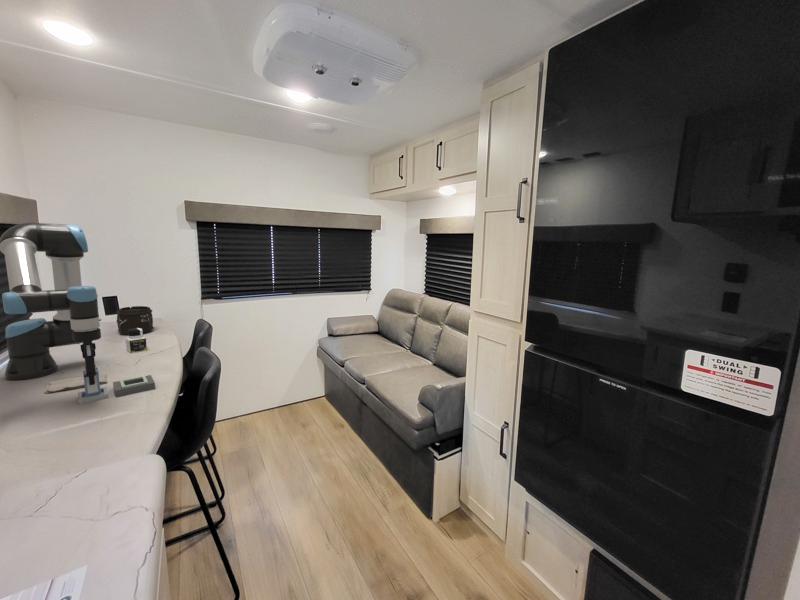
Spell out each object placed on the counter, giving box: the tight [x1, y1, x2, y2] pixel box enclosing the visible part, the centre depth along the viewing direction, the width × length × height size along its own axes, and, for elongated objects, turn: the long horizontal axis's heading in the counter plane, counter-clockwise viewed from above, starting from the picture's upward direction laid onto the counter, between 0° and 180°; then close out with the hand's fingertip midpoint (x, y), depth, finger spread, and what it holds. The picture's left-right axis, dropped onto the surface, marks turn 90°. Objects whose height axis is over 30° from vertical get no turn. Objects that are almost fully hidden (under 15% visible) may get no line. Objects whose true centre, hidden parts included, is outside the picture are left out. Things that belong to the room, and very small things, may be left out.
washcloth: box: [43, 373, 108, 395], centre depth 132 cm, size 12×18×3 cm, turn 133°
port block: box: [112, 374, 156, 398], centre depth 131 cm, size 12×10×4 cm
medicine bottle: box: [125, 328, 148, 354], centre depth 176 cm, size 7×7×12 cm
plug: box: [82, 363, 101, 397], centre depth 122 cm, size 4×4×12 cm
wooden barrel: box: [116, 305, 154, 337], centre depth 209 cm, size 18×18×16 cm
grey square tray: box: [77, 386, 110, 405], centre depth 123 cm, size 8×8×2 cm
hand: (92, 390), depth 122 cm, fingers closed on plug, 4 cm apart
